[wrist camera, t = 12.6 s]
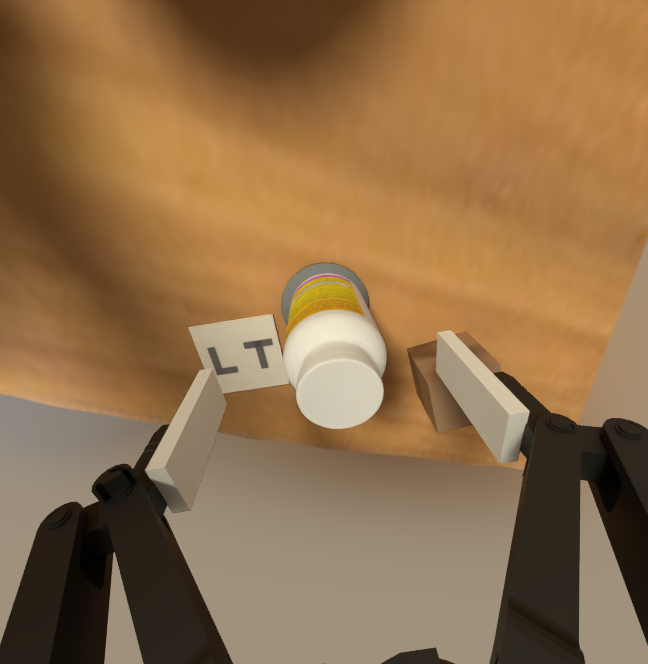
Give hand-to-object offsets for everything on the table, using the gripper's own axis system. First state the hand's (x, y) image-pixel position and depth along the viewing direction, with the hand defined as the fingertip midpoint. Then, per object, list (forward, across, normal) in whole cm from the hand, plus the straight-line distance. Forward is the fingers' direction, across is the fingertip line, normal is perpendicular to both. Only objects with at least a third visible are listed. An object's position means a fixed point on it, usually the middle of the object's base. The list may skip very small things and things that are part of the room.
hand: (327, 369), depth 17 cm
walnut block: (+11, +12, -9) cm, 18 cm away
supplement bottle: (+11, +1, -1) cm, 11 cm away
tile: (+11, -8, -5) cm, 15 cm away
